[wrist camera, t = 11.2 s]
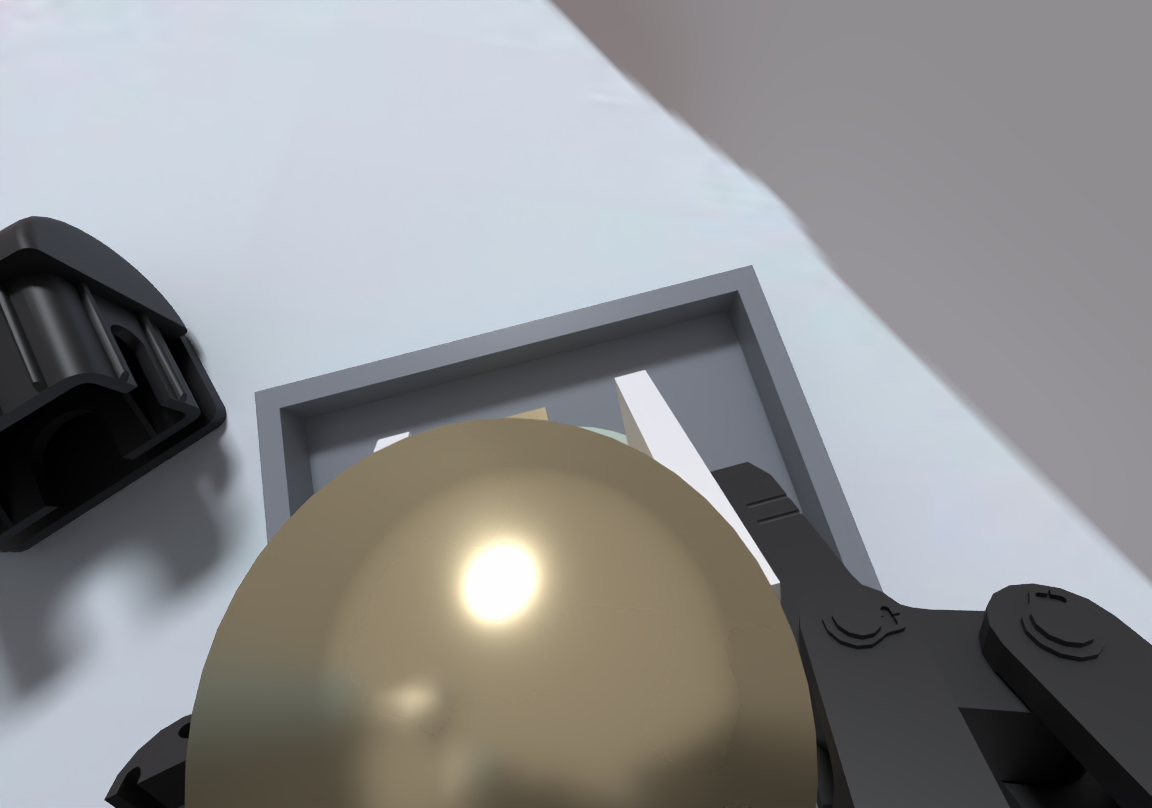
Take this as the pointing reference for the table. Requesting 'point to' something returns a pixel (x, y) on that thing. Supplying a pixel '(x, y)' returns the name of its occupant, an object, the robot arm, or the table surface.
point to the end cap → (86, 379)
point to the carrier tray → (579, 396)
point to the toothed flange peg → (504, 641)
